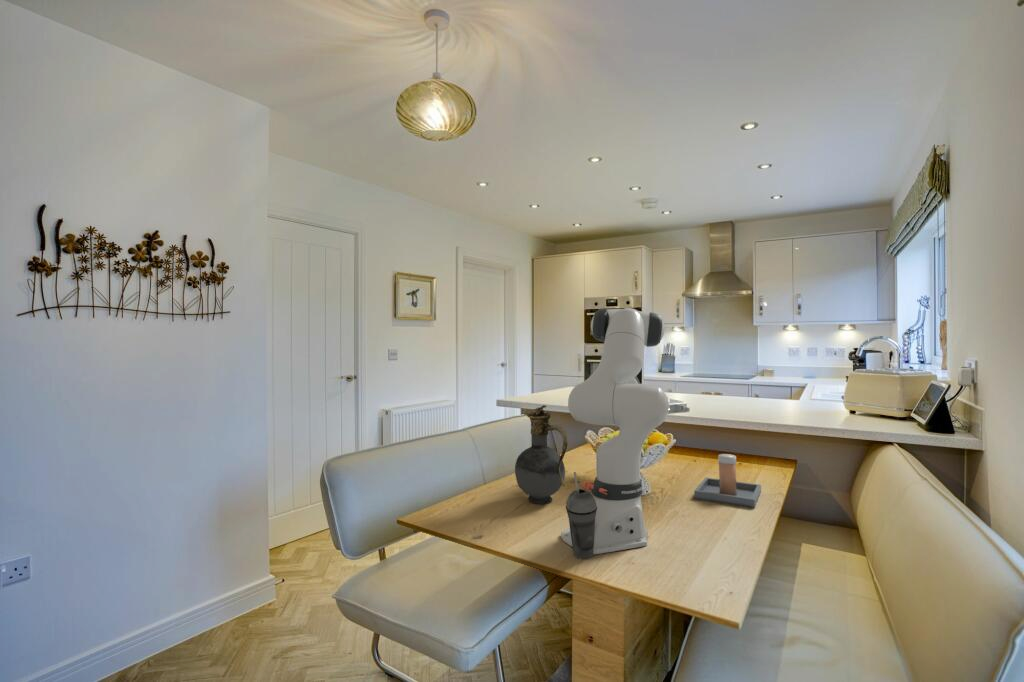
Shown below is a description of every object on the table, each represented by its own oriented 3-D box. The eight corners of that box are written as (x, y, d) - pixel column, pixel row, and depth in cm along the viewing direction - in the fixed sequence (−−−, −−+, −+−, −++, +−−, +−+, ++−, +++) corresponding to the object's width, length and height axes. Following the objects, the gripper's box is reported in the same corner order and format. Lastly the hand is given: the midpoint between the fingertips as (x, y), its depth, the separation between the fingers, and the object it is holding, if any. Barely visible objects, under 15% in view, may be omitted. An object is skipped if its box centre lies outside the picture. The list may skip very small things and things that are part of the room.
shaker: (729, 497, 152) (728, 458, 152) (715, 492, 157) (714, 455, 157) (740, 494, 154) (739, 456, 155) (726, 490, 159) (725, 453, 159)
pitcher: (534, 491, 163) (533, 401, 163) (579, 504, 149) (577, 406, 149) (510, 498, 156) (509, 404, 155) (555, 513, 142) (553, 410, 142)
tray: (754, 508, 144) (754, 499, 144) (694, 498, 153) (694, 490, 153) (761, 492, 158) (760, 484, 158) (705, 484, 167) (705, 477, 167)
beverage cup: (599, 563, 110) (596, 478, 108) (567, 562, 112) (563, 478, 109) (598, 545, 118) (595, 466, 115) (568, 544, 119) (564, 466, 116)
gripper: (627, 399, 173) (655, 403, 161) (668, 396, 183) (698, 399, 171) (627, 417, 173) (656, 422, 161) (668, 413, 183) (698, 417, 171)
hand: (678, 410), depth 166 cm, fingers open, 8 cm apart
